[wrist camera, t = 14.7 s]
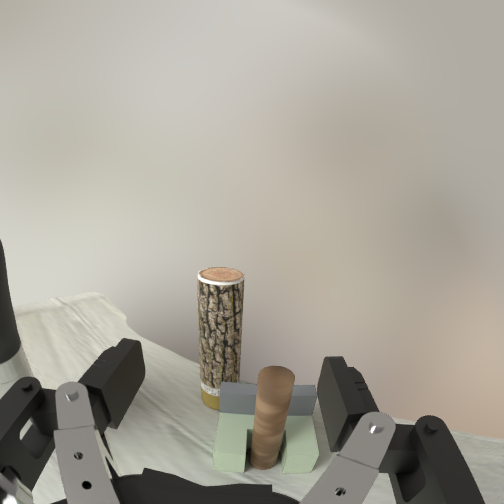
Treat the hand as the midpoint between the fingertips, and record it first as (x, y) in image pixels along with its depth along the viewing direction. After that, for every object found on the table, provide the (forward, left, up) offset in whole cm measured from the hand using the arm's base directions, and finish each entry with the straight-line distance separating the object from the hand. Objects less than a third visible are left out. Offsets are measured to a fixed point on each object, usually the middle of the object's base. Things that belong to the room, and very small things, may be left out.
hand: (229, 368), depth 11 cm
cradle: (+4, +16, -30) cm, 34 cm away
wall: (+4, +21, -30) cm, 37 cm away
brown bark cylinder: (-4, +28, -30) cm, 41 cm away
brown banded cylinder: (+4, +14, -30) cm, 33 cm away
